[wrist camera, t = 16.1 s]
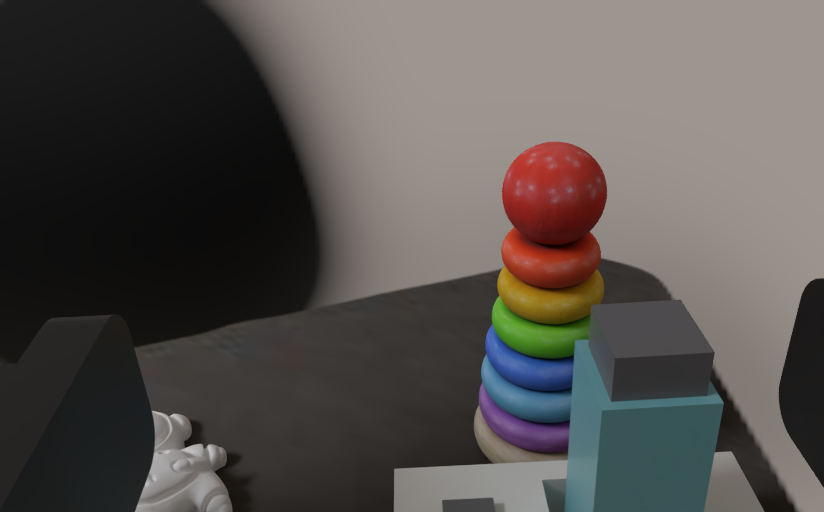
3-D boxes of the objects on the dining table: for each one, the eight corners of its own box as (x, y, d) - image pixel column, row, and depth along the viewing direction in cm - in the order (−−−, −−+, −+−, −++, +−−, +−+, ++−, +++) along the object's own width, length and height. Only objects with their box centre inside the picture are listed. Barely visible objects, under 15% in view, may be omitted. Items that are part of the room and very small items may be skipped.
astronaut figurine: (101, 598, 38) (84, 556, 36) (52, 461, 46) (37, 422, 45) (262, 515, 42) (254, 474, 40) (189, 403, 51) (180, 367, 49)
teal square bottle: (583, 621, 34) (605, 366, 27) (562, 539, 37) (577, 299, 31) (684, 615, 34) (732, 358, 27) (653, 534, 37) (687, 293, 31)
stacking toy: (447, 446, 45) (435, 150, 36) (524, 380, 50) (530, 107, 41) (560, 511, 40) (578, 189, 31) (633, 431, 45) (667, 134, 36)
